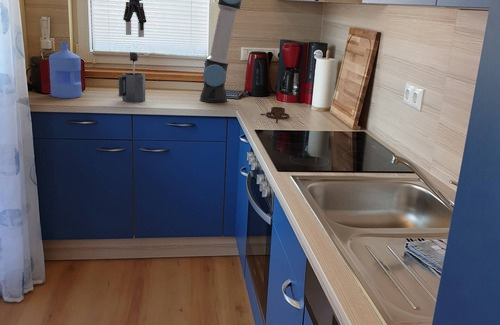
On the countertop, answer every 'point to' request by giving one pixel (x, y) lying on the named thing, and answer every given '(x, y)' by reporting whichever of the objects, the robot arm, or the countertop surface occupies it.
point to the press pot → (132, 87)
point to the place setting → (277, 113)
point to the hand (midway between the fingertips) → (134, 35)
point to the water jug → (65, 73)
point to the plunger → (133, 58)
